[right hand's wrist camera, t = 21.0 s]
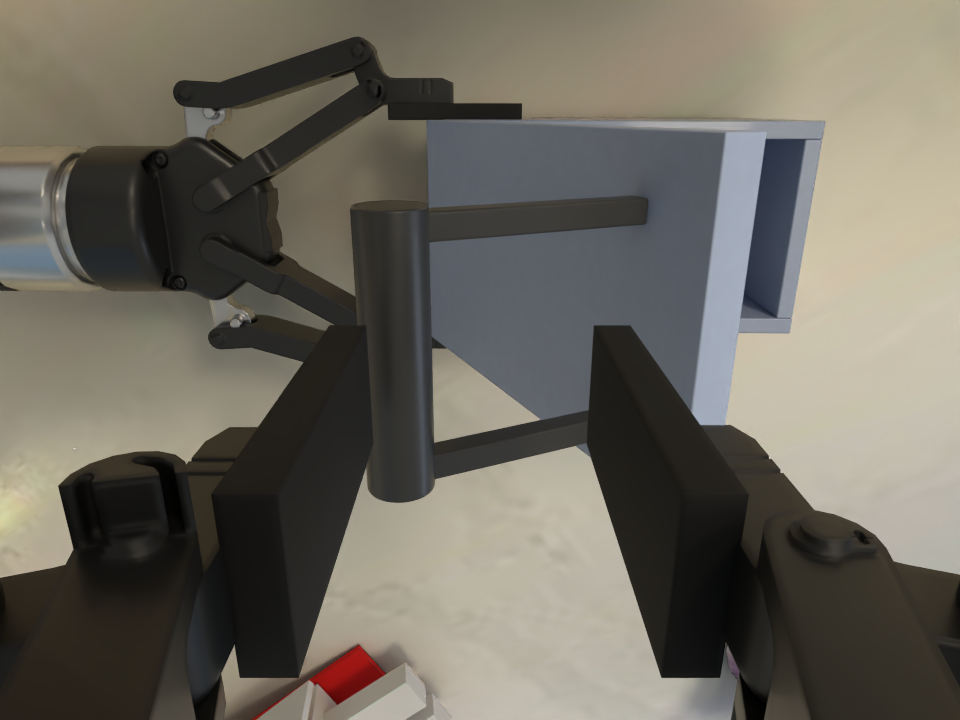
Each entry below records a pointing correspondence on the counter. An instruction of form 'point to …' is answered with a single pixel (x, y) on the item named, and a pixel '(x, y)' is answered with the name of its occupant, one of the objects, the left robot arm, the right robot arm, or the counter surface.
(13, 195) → the left robot arm
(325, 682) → the toy
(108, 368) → the counter surface
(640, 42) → the counter surface
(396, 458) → the lid
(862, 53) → the counter surface
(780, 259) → the chest
